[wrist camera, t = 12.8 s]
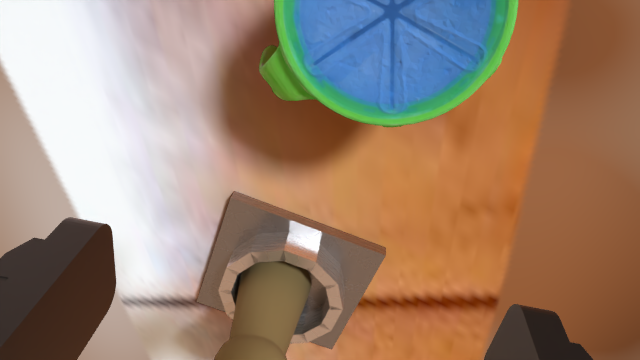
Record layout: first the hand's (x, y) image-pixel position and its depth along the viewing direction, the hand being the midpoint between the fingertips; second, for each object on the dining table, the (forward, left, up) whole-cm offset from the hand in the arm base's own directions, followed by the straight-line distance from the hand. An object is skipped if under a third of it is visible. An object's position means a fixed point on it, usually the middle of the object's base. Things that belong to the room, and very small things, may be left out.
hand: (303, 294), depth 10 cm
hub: (+2, -22, -25) cm, 33 cm away
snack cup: (+1, +3, -25) cm, 25 cm away
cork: (+2, -22, -24) cm, 33 cm away
